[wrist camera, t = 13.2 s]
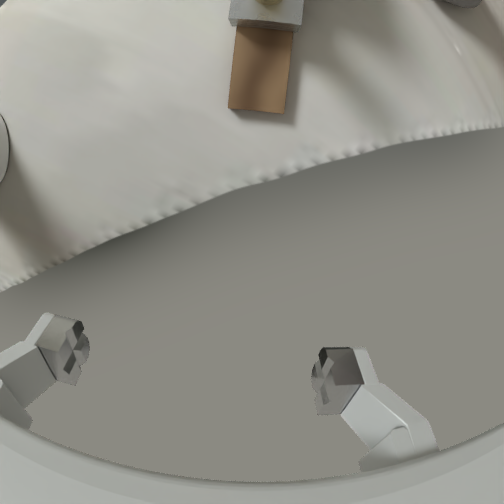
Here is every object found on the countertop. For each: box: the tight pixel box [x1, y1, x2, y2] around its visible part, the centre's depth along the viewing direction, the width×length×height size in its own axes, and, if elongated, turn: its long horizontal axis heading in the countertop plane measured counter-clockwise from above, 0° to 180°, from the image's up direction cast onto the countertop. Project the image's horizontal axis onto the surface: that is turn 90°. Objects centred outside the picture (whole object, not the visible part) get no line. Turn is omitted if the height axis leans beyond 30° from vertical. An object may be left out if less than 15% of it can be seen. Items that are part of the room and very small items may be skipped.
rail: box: [228, 27, 293, 114], centre depth 25 cm, size 6×18×2 cm, turn 174°
